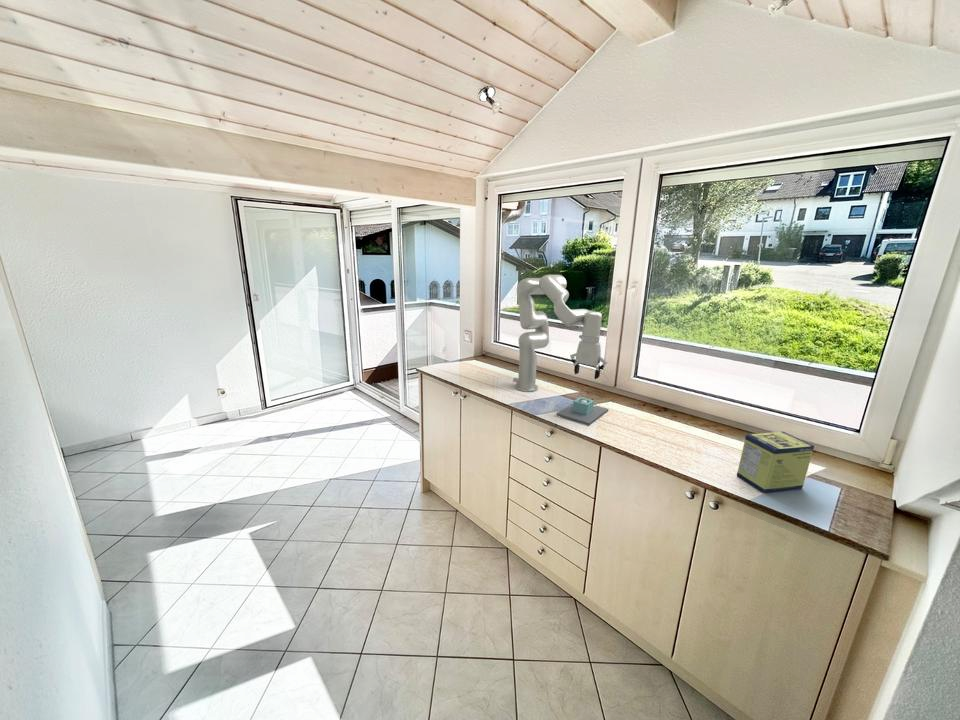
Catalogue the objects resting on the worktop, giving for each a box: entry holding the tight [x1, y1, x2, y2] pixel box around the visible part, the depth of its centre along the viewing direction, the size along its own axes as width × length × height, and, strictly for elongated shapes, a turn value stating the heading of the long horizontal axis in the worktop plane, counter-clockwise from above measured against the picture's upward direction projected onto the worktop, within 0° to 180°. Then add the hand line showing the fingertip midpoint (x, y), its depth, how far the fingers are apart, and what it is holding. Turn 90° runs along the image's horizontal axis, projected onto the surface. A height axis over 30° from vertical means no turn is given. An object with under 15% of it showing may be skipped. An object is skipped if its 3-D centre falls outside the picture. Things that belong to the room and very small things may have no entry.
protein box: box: [736, 431, 815, 494], centre depth 122 cm, size 10×16×16 cm
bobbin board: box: [555, 400, 609, 426], centre depth 175 cm, size 16×22×6 cm
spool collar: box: [572, 396, 595, 415], centre depth 175 cm, size 7×7×5 cm
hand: (586, 375), depth 172 cm, fingers open, 9 cm apart
